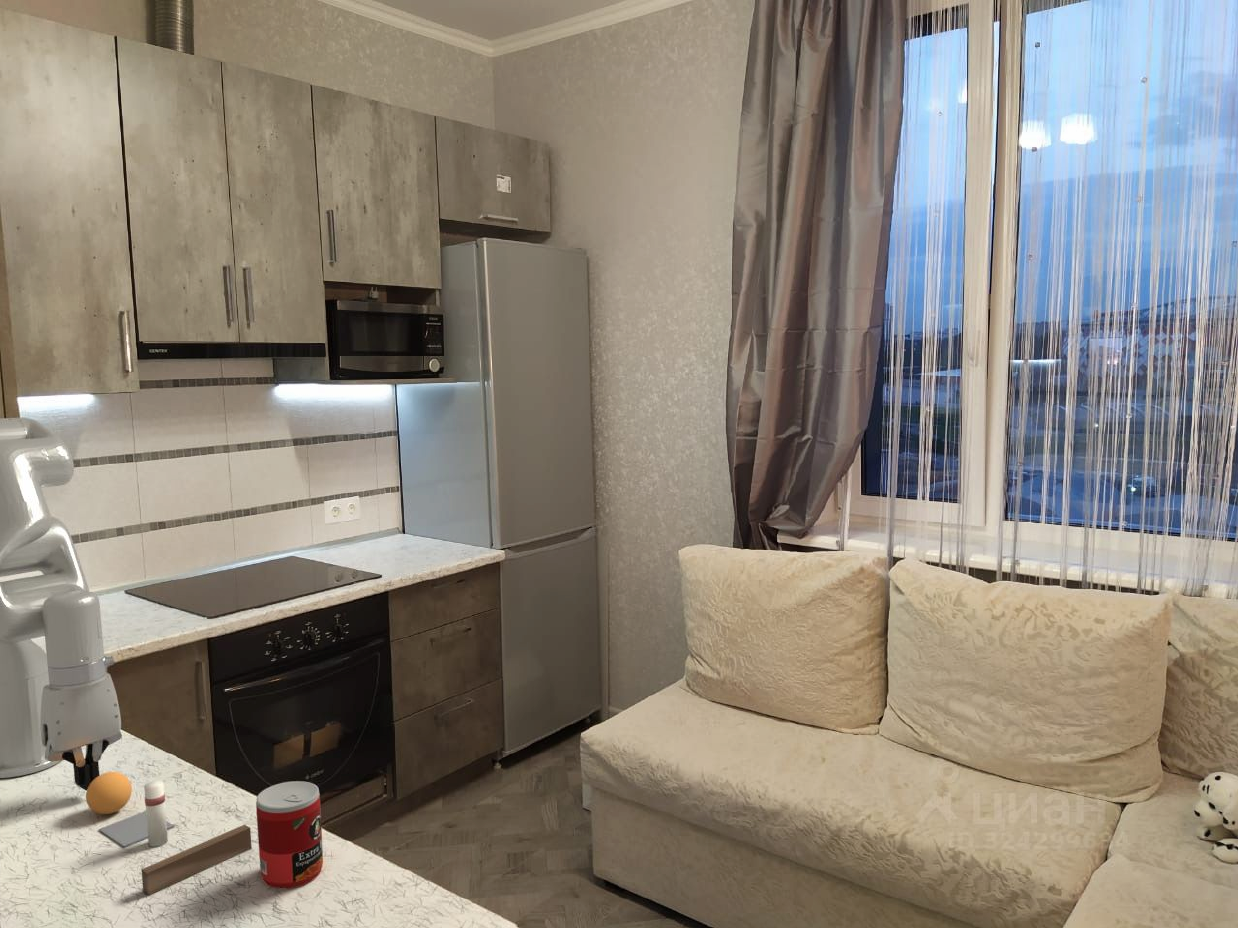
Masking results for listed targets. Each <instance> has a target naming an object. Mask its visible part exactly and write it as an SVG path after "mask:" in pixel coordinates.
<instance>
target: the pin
mask: <svg viewBox="0 0 1238 928" xmlns="http://www.w3.org/2000/svg"><path fill="white" fill-rule="evenodd" d="M143 788H144V805H145V811H146V816H147V829H148V838H147V839H148V847H150V848H157V847H161V846H164V845H165V844H167V843H168V839H169V838H168V830H167V824H166V821H167V814H166V813H167V812H166V793H165V785H164V781H162V780H156V781H155V780H154V781H151V782H148V783H145V785H144V787H143Z"/></svg>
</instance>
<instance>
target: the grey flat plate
mask: <svg viewBox="0 0 1238 928" xmlns="http://www.w3.org/2000/svg"><path fill="white" fill-rule="evenodd" d="M166 824H167V831H168V830H170V829H172V828H175V825H174V824H172V823H171V822H169V821H167V820H166ZM98 831H99V832H101V833H102V834H103V835H105V836H107V837H108V838H109V839H111V840H113V841H114V842H116V843H117V844H118V845H120V846H121V847H122V848H127V847H129V846H131V845H134V844H137V843H139V842H141V841H143V840H147V839H148V829H147V816H146V810H145V811H142V812H139V813H137V814H134V815H132V816H129V817H127V818H124V819H121V820H119V821H116V822H114V823H111V824H109V825H108V824H107V825H106V826H103V827H100V828H99V829H98Z"/></svg>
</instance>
